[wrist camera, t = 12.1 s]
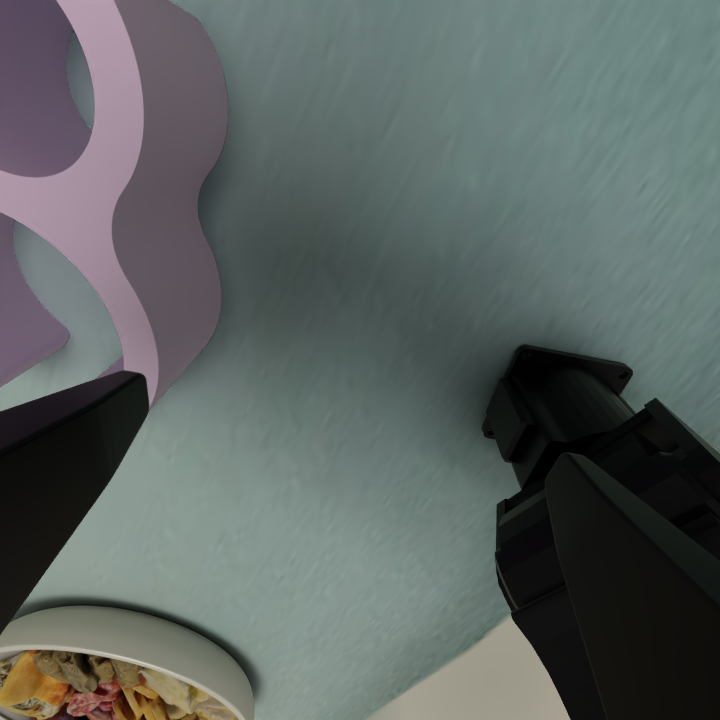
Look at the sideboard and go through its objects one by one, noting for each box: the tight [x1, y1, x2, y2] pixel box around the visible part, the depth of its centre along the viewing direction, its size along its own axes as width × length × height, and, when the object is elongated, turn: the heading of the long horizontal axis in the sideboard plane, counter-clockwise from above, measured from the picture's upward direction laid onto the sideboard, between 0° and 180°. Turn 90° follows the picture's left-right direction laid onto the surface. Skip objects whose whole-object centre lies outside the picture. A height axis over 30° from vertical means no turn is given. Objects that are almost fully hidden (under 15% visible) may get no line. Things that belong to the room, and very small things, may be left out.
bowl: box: [0, 606, 254, 720], centre depth 42 cm, size 30×30×8 cm
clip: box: [0, 0, 228, 410], centre depth 17 cm, size 20×12×7 cm, turn 154°
